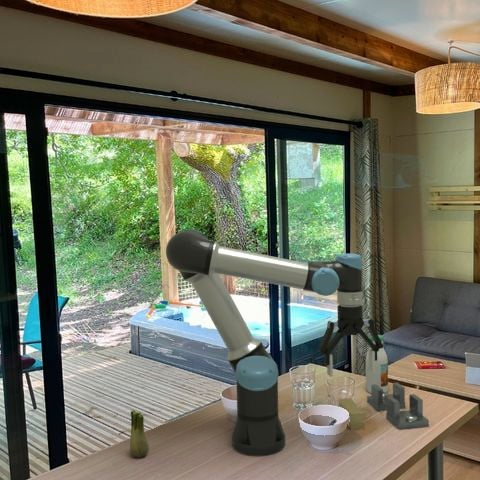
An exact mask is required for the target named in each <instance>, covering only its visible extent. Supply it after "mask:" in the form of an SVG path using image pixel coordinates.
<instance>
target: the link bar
mask: <svg viewBox="0 0 480 480" xmlns="http://www.w3.org/2000/svg"><path fill="white" fill-rule="evenodd" d="M339 406H340V407H342V408H344V409H346V410H347V411H348V412H349V416H350V422H349V427H348V428H349V430H350V431H354V430H355V431H357V430H358V431H359V430H364V429H365V413H364V412H363V411H362V409H361V408H360V407H359V406H358V404H356V403H355V402H354V400H353V399H352V398H350V397H349V398H339V399H338V407H339Z"/></svg>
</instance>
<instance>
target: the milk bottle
mask: <svg viewBox="0 0 480 480" xmlns="http://www.w3.org/2000/svg"><path fill="white" fill-rule="evenodd" d="M378 336H379V338H380V340H381V342H382V344H383V343H384V336H383V335H381V334H378ZM369 339H370V340H371V341H372V342H373V343H374V344H375V342H374V340H373V338H372V336H371V335H370V336H369ZM383 345H384V344H383ZM384 348H385V347H383V348H380V349H379V351H378V352H377V361H375V372H374V373H373V372H371V371H370V370H369V349H371V350H372V348H371V347H370V346H369V348H368V350H367V353H366V355H365V356H366V357H365V391H366V392H368V393H370V394H371V385H375V384H376V385H377V386H379V387H380V388H381V389H383V392H385V393H387V394H388V391H389V361H388V355H387V352H386V350H385V349H384Z"/></svg>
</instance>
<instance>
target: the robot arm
mask: <svg viewBox="0 0 480 480" xmlns="http://www.w3.org/2000/svg"><path fill="white" fill-rule="evenodd" d="M165 256H166V259H167V262H168V263H169V264H170V266H171V267H172V268H174V269H175V270H177V271H178V272H179V273H180V275H181V277H182V279H183V281H184V282H188V283H190V284H192V287H193V288H194V290H195V292H196V293H197V296H198V298H199V299H200V301H201V303H202V305H203V307H204V309H205V310H206V312H207V314H208V316H209V317H210V319H211V321H212V323H213V325H214V326H215V329H216V330H217V332H218V334H219V336H220V338H221V339H222V341H223V343H224V345H225V347H226V349H227V350H228V353H227V356H226V357H227V361H228V363H229V365H230V366H231V368H232V370H233V371H234V375H235V379H236V380H235V381H236V412H237V413H236V416H237V417H236V420H235V423H234V426H233V430H232V433H231V446H232V448H233V449H234V450H235V451H237V452H238V453H241V454H244V455H246V456H247V455H248V456H255V457H257V456H259V457H262V456H268V455H273V454H277V453H278V452H280V451H282V450H283V449H284V448H285V446H286V433H285V430H284V428H283V425H282V422H281V419H280V417H279V416H280V415H279V380H278V378H279V369H278V365H277V363H276V361H274V359H273V358H272V355H271V354H270V352H268V351H267V350H266V348H265V346H264V344H263V342H262V340H261V339H259V338H255V337H254V336H253V335H252V332H251V330H250V329H249V327H248V325H247V323H246V322H245V319H244V318H243V316H242V314H241V313H240V310H239V308H238V307H237V305H236V303H235V301H234V299H233V297H232V295H231V294H230V292H229V290H228V288H227V287H226V285H225V283H224V281H223V279H222V277H221V275H224V276H231V277H235V278H240V279H246V280H251V281H254V282H255V281H256V282H262V283H267V284H273V285H276V286H283V287H289V288H293V289H298V290H304V291H307V292H312V293H316V294H317V295H319V296H324V297H326V296H327V297H328V296H331V295H334V293H336V295H337V296H336V302H337V304H338V305H337V321H332V320H328V321H327V325H326V326H327V327H326V330H325V332H324V335H323V336H322V339H321V341H320V343H319V346H318V348H317V351H318V352H319V353H320V354H323V360H324V362H323V363H324V365H325V366H326V368H327V369H326V370H327V371H326V372H327V375H328V376H329V377H333V376H334V373H333V371H334V369H333V368H334V367H333V366H334V365H333V354H331V353H332V352H333V351H334V349H335V348H336V346H337V345H338V344H339V343H340V341H341V340H342V339H343V338H344V337H350V336H357V335H359V336H360V338H361V339H362V340H364V341H363V342H365V343H366V344H367V345H368V346H369V348H370V347H371V348H372V350H371V349H369V348H368V350H369V370H370V371H371V372H373V373H374V372H375V361H377V352H378V351H379V349H380V348H384V344H382V342H381V340H380V338H379V336H378V335H379V334H378V332H377V331H376V329H375V327H374V321H373V319H371V318H369V317H367V318H366V319H363V318H364V316H363V315H364V314H363V313H364V310H363V309H364V308H363V305H362V304H363V265H362V263H363V262H362V261H363V260H362V257H361V255H360V254H357V253H340V254H339V253H338V254H337V255H336V257H335V260H332V261H304V262H303V261H297V260H291V259H287V258H282V257H277V256H271V255H266V254H262V253H256V252H253V251H252V252H251V251H246V250H243V249H242V250H241V249H238V248H237V249H236V248H232V247H227V246H226V247H225V246H222V245H221V246H220V245H219V243H218V242H217V241H215V240H209V239H208V238H207V236H206V235H205V234H204V233H202V232H201V231H199V230H197V229H193V228H192V229H191V228H190V229H184V230H181V231H179V232H177V233H175V234H174V235H173V236H172V237H171V238H170V239H169V240H168V242H167V244H166V247H165ZM364 326H366V328H367V330H368V332H369V334H370V336H372V338H373V340H374V342H375V344H374V343H373V342H372V341H371V340H370V337H369V336H368V335H367V334H366V333H365V331H364V330H363V329H362V328H363V327H364ZM336 328H337V331H336V332H335V334H334V335H333V333H334V331H335V329H336ZM332 335H333V337H332ZM331 338H332V339H331Z"/></svg>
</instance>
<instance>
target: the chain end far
mask: <svg viewBox="0 0 480 480" xmlns="http://www.w3.org/2000/svg"><path fill="white" fill-rule="evenodd" d="M370 394H371V395H368V396H367V397H366V398H367V399H366V400H367V401H366V403H368V404H369V406H371V407H372V408H373V409H375V410H376V411H377V412H383V411H385V412H387V397H389V396H392V397H393V398H395V399H396V400H397V401H398V402H399V410H403V409H406V401H405V400H406V398H405V397H406V393H405V387H404V385H402V384H400V383H399V382H393V383H392V393H388V392H387V393H385V392H383V389H381V388H380V387H379V386H377V385H376V384H375V385H371V393H370Z"/></svg>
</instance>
